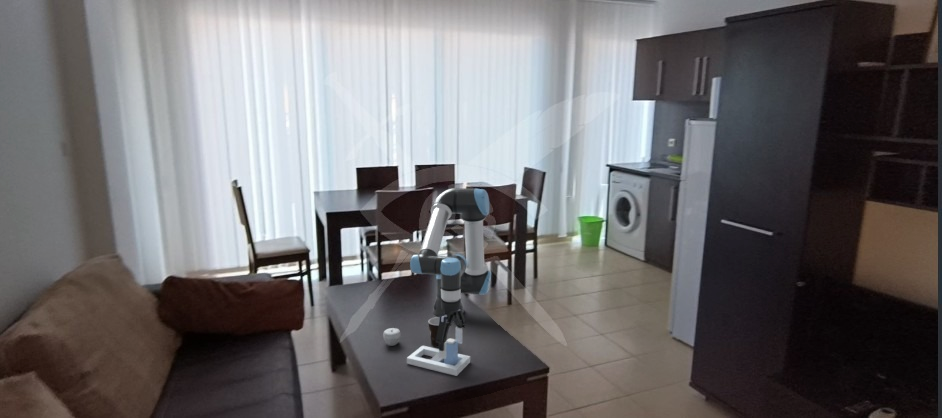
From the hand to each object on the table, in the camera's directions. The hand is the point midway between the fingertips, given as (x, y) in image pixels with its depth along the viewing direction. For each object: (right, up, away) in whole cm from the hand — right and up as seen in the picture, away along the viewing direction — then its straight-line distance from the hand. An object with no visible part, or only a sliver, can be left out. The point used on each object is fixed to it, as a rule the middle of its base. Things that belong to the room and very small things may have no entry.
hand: (451, 350), depth 202 cm
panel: (-5, -6, +3) cm, 8 cm away
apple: (-26, -3, +20) cm, 33 cm away
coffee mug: (-6, -2, +22) cm, 23 cm away
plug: (0, -6, +1) cm, 7 cm away
